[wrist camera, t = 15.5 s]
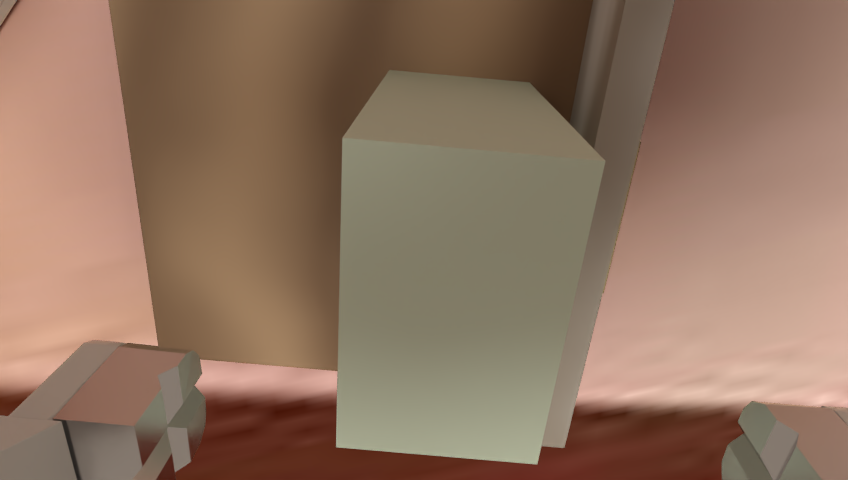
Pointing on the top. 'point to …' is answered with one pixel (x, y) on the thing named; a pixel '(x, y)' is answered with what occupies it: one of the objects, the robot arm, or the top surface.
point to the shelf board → (322, 147)
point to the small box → (5, 8)
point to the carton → (457, 265)
